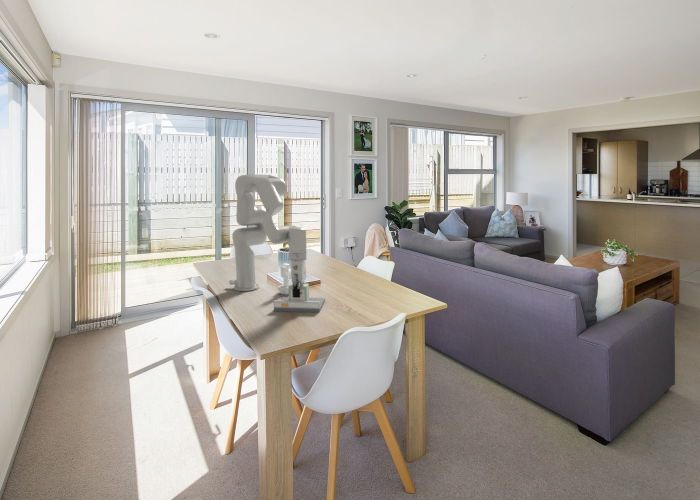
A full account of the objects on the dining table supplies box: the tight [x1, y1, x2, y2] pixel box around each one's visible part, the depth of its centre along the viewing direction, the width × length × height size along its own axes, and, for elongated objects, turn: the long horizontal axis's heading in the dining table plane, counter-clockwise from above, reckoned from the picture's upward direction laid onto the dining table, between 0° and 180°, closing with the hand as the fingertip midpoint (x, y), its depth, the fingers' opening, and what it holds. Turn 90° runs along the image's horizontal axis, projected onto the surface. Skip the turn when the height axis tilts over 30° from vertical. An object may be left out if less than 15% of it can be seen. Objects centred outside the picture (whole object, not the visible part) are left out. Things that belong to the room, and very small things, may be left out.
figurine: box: [277, 263, 291, 296], centre depth 206 cm, size 7×9×15 cm
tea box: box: [288, 282, 310, 301], centre depth 183 cm, size 8×5×9 cm, turn 85°
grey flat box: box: [273, 296, 326, 313], centre depth 187 cm, size 20×16×4 cm
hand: (298, 294), depth 183 cm, fingers open, 9 cm apart
